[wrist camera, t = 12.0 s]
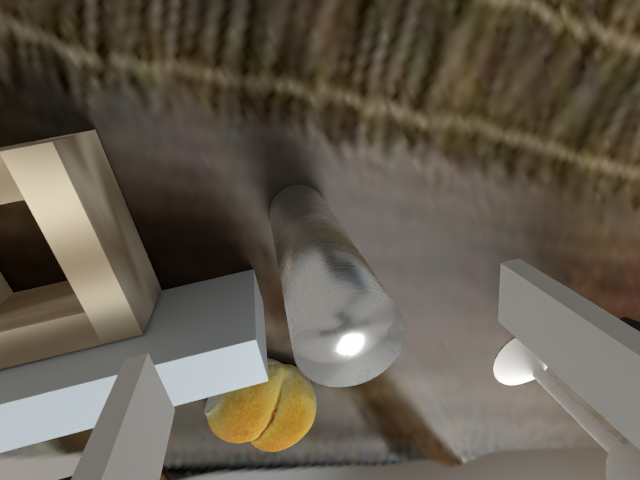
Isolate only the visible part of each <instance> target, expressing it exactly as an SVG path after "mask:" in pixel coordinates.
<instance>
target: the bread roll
mask: <svg viewBox="0 0 640 480" xmlns="http://www.w3.org/2000/svg"><path fill="white" fill-rule="evenodd" d="M267 364H268V378H269V381H267V382H264V383H260V384H256V385H252V386H249V387H245V388H241V389H237V390H234V391H230V392H226V393H222V394H219V395H215V396H211V397H209V398H208V400H207V403H206V406H205V414H206V416H207V419H208V424H209V427H210V428H211V430H212V431H213V432H214V434H215V435H217V436H218V437H219V438H220V439H222V440H224V441H227V442H231V443H244V442H248V441H250V442H251V444H252V445H253V446H255V447H256V448H258V449H260V450H263V451H268V452H275V451H280V450H283V449H285V448H288V447H290V446H292V445H293V444H295V443H296V442H298V441H299V440H300V439H301V438H302V437H303V436H304V435H305V434H306V433H307V432H308V430H309V429H310V427H311V426H312V424H313V421H314V419H315V414H316V395H315V391H314V388H313V385H312V383H311V381H310V379H309V378H308V377H306V376H305V375H304V374H303V373H302V372H301V371H300V369H299V368H297V367H295V366H293V365H290V364H282V363H280V362H278V361H276V360H274V359H267Z"/></svg>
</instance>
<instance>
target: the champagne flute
mask: <svg viewBox="0 0 640 480" xmlns="http://www.w3.org/2000/svg"><path fill="white" fill-rule="evenodd" d="M547 367H548V366H546V365H545V364H544V363H543V362H542V361H541V360H540V359H539V358H538V357H537V356H535V355H534V354H533V353H532V352H531V351H530V350H529V349H528V348H527V347H526V346H524V345H523V344H522V343H521V342H520V341H519V340H518V339H517V338H514V339H512V340H511V341H510V342H508V343H507V344H506V345H505V346H504V347H503V348H502V349H501V351H500V352H499V353H498V355H497V357H496V359H495V362H494V366H493V372H494V375H495V377H496V379H497V380H498V381H499V382H501V383H503V384H506V385H519V384H522V383H525V382H528V381H531V380H533V379H536V380H537V381H538V382H539V383H540V384H541V385H542V386H543V387H544V388H545V389H546V390H547V391H548V392H549V393H550V394H551V395H552V396H553V397H554V398H555V399H556V400H557V401H558V402H559V403H560V404H561V405H562V406H563V408H564V409H565V410H566V411H567V412H568V413H569V414H570V415H571V416H572V417H573V418H574V419H575V420H576V421H577V422H578V423H579V424H580V425H581V426H582V427H583V428H584V429H585V430H586V431H587V432H588V433H589V434H590V435H591V436H592V437H593V438H594V439H595V440H596V441H597V442H598V443H599V444H600V445H601V446H602V447H603V448H604V449H605V450H606V451H607V452H608V457H607V460H606V480H640V450H639V449H638V448H637V447H636V446H634V445H633V444H632V443H624V444H621V443H620V442H619V441H618V440H617V439H616V438H615V437H614V436H613V435H612V434H611V433H610V432H609V431H608V430H607V429H606V428H605V427H603V426H602V425H601V424H600V423H599V422H598V421H597V420H596V419H595V418H594V417H593V416H592V415H591V414H590V413H589V412H588V411H587V410H586V409H585V408H584V407H583V406H582V405H580V404H579V403H578V402H577V401H576V400H575V399H574V398H573V397H572V396H571V395H570V394H569V393H568V392H567V391H566V390H565V389H564V388H563V387H562V386H561V385H560V384H558V383H557V382H556V381H555V380H554V379H553V378H552V377H551V376H550V375H549V374H548V373H547V372H546V371H545V370H546V368H547Z"/></svg>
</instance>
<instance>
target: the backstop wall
mask: <svg viewBox="0 0 640 480" xmlns="http://www.w3.org/2000/svg"><path fill="white" fill-rule="evenodd" d="M146 353H149V356H150V358H151V360H152V362H153V364H154V366H155V368H156V371H157V373H158V375H159V377H160V379H161V381H162V383H163V385H164V388H165V390H166V392H167V394H168V396H169V398H170V400H171V403H172V405H173V407H174V406H177V405H181V404H185V403H189V402H192V401H196V400H200V399H204V398H207V397H211V396H215V395H219V394H222V393H226V392H230V391H234V390H237V389H241V388H245V387H249V386H252V385H256V384H260V383H264V382H267V381H269V378H268V364H267V350H266V336H265V322H264V308H263V301H262V297H261V294H260V290H259V286H258V283H257V279H256V276H255V272H254V269H252V270H248V271H244V272H239V273H235V274H231V275H227V276H222V277H218V278H214V279H209V280H205V281H201V282H197V283H192V284H188V285H184V286H179V287H175V288H171V289H167V290H162V291H161V293H160V295H159V297H158V300H157V302H156V305H155V307H154V309H153V312H152V314H151V316H150V319H149V321H148V324H147V326H146V328H145V331H144V333H143V335H139V336H134V337H130V338H126V339H122V340H118V341H114V342H110V343H106V344H102V345H98V346H94V347H90V348H85V349H81V350H77V351H73V352H69V353H65V354H61V355H57V356H53V357H49V358H45V359H40V360H36V361H32V362H28V363H24V364H20V365H16V366H12V367H8V368H4V369H0V453H1V452H5V451H9V450H13V449H16V448H20V447H24V446H28V445H31V444H35V443H39V442H42V441H46V440H50V439H54V438H57V437H61V436H65V435H69V434H72V433H76V432H80V431H84V430H87V429H91V428H94V427H95V425H96V422H97V420H98V418H99V416H100V414H101V411H102V409H103V407H104V405H105V402H106V400H107V398H108V396H109V393H110V391H111V389H112V387H113V385H114V382H115V380H116V378H117V376H118V373H119V371H120V369H121V367H122V365H123V362H124V360H125V359H126V358H130V357H134V356H138V355H142V354H146Z"/></svg>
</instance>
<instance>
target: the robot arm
mask: <svg viewBox="0 0 640 480" xmlns="http://www.w3.org/2000/svg"><path fill="white" fill-rule="evenodd" d="M498 322H499V323H500V324H501V325H502V326H504V327H505V328H506V329H507V330H508V331H509V332H510V333H511V334H512V335H513V336H515V337H516V338H517V339H518V340H519V341H520V342H521V343H522V344H523V345H524V346H526V347H527V348H528V349H529V350H530V351H531V352H532V353H533V354H534V355H535V356H537V357H538V358H539V359H540V360H541V361H542V362H543V363H544V364H545V365H546V366H548V367H549V368H550V369H551V370H552V371H553V372H554V373H555V374H556V375H557V376H559V377H560V378H561V379H562V380H563V381H564V382H565V383H566V384H567V385H568V386H570V387H571V388H572V389H573V390H574V391H575V392H576V393H577V394H578V395H579V396H581V397H582V398H583V399H584V400H585V401H586V402H587V403H588V404H589V405H590V406H592V407H593V408H594V409H595V410H596V411H597V412H598V413H599V414H600V415H601V416H603V417H604V418H605V419H606V420H607V421H608V422H609V423H610V424H611V425H612V426H614V427H615V428H616V429H617V430H618V431H619V432H620V433H621V434H622V435H623V436H625V437H626V438H627V439H628V440H629V441H630V442H631V443H632V444H633V445H634V446H636V447H637V448H638V449H639V450H640V322H638V321H635V320H632V319H629V318H627V317H623V318H620V319H618V318H616V317H615V316H613V315H612V314H610V313H608V312H607V311H605V310H603V309H602V308H600V307H598V306H597V305H595V304H593V303H592V302H590V301H589V300H587V299H585V298H584V297H582V296H580V295H579V294H577V293H575V292H574V291H572V290H570V289H569V288H567V287H566V286H564V285H562V284H561V283H559V282H557V281H556V280H554V279H552V278H551V277H549V276H547V275H546V274H544V273H543V272H541V271H539V270H538V269H536V268H534V267H533V266H531V265H529V264H528V263H526V262H524V261H523V260H521V259H520V258H518V259H514V260H510V261H506V262H502V263H501V267H500V287H499V308H498ZM174 412H175V409H174V407H173V405H172V403H171V400H170V398H169V396H168V394H167V392H166V390H165V388H164V385H163V383H162V381H161V379H160V377H159V375H158V373H157V371H156V368H155V366H154V364H153V362H152V360H151V358H150V356H149V353H146V354H142V355H138V356H134V357H130V358H126V359H125V360H124V362H123V365H122V367H121V369H120V371H119V373H118V376H117V378H116V380H115V382H114V385H113V387H112V389H111V391H110V393H109V396H108V398H107V400H106V402H105V405H104V407H103V409H102V411H101V414H100V416H99V418H98V420H97V422H96V425H95V427H94V429H93V431H92V434H91V436H90V438H89V440H88V443H87V445H86V447H85V449H84V451H83V454H82V456H81V458H80V461H79V463H78V465H77V467H76V470H75V472H74V474H73V476H70V477H67V478H64V479H60V480H160V476H161V471H162V467H163V462H164V457H165V453H166V448H167V444H168V439H169V435H170V430H171V426H172V421H173V417H174Z"/></svg>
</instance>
